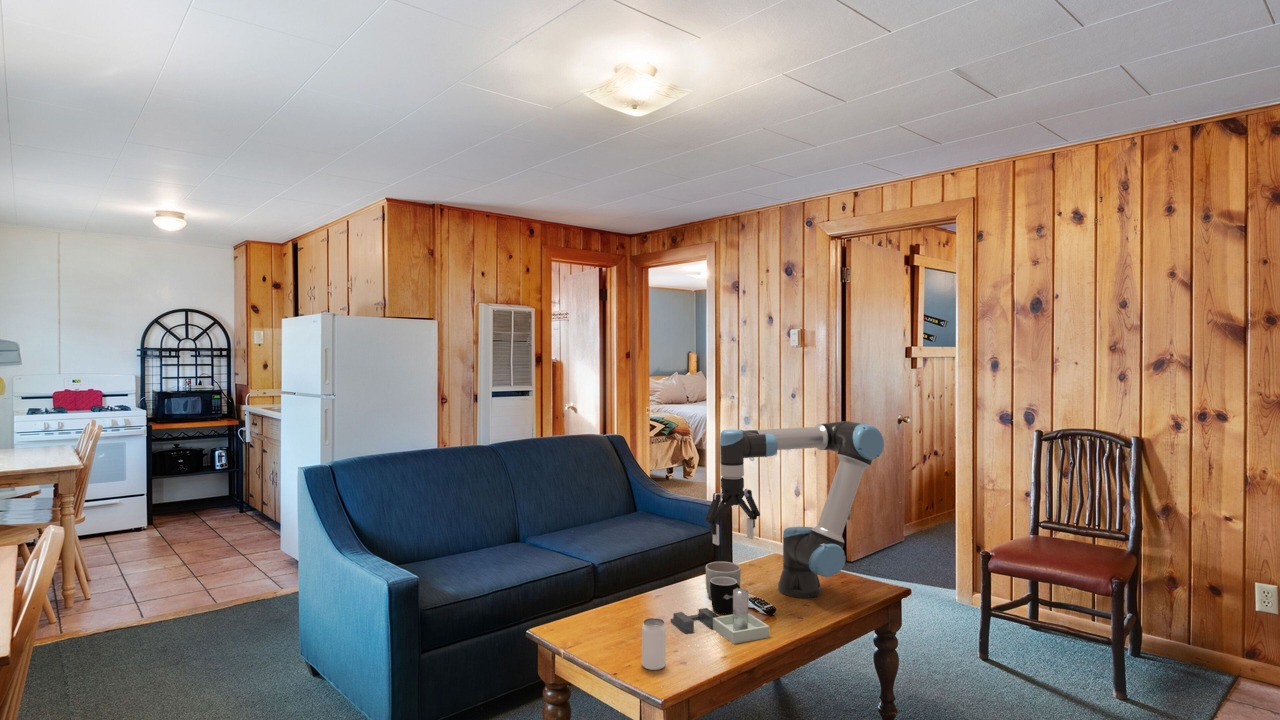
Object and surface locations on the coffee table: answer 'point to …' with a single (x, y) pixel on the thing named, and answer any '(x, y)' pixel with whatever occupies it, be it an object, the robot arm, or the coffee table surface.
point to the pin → (740, 609)
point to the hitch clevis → (687, 622)
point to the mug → (722, 594)
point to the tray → (752, 633)
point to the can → (653, 644)
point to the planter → (722, 572)
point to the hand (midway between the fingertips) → (733, 541)
